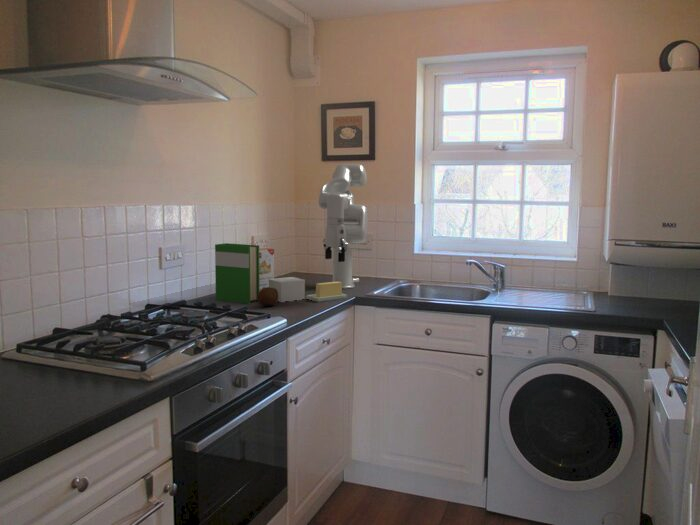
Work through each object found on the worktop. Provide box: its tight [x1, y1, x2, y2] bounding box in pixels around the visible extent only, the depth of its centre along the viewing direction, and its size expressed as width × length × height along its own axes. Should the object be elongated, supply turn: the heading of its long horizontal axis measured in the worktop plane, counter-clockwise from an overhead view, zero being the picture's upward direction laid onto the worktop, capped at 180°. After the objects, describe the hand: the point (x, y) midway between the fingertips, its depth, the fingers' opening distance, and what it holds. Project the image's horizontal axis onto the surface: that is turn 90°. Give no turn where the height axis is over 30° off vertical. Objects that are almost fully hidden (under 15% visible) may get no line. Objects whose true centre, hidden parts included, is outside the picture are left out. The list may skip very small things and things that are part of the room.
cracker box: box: [259, 247, 275, 292], centre depth 260 cm, size 14×6×21 cm, turn 143°
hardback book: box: [214, 242, 260, 304], centre depth 245 cm, size 18×7×24 cm, turn 64°
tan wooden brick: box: [315, 281, 343, 298], centre depth 252 cm, size 12×3×6 cm, turn 128°
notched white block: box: [269, 276, 307, 303], centre depth 250 cm, size 13×11×9 cm
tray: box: [306, 293, 348, 303], centre depth 252 cm, size 16×8×2 cm, turn 128°
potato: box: [257, 287, 278, 307], centre depth 233 cm, size 7×10×8 cm
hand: (334, 260), depth 253 cm, fingers open, 9 cm apart
